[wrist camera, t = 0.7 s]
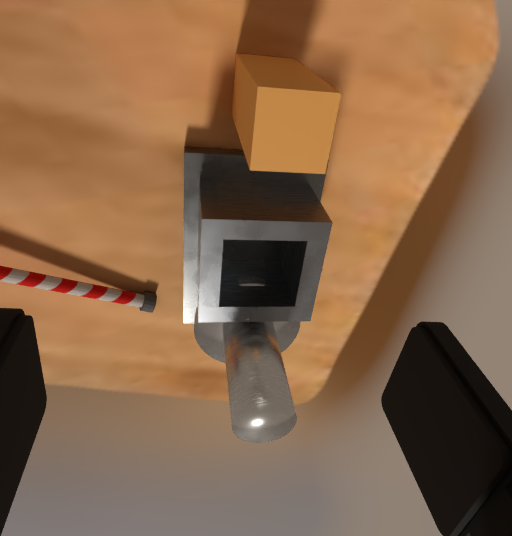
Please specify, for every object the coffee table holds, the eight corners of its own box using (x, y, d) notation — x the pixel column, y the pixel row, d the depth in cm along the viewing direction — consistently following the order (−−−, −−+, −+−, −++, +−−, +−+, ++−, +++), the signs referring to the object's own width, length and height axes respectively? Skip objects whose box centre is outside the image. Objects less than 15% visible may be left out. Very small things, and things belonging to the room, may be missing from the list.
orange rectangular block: (235, 53, 31) (257, 86, 22) (294, 58, 32) (341, 93, 22) (231, 115, 34) (249, 170, 24) (286, 119, 35) (325, 173, 25)
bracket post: (184, 146, 35) (182, 247, 22) (323, 154, 37) (399, 250, 24) (183, 328, 46) (181, 467, 33) (290, 326, 48) (329, 457, 35)
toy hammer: (174, 251, 41) (172, 291, 35) (138, 336, 46) (132, 382, 41) (-106, 163, 33) (-162, 198, 28) (-110, 278, 38) (-157, 325, 33)
